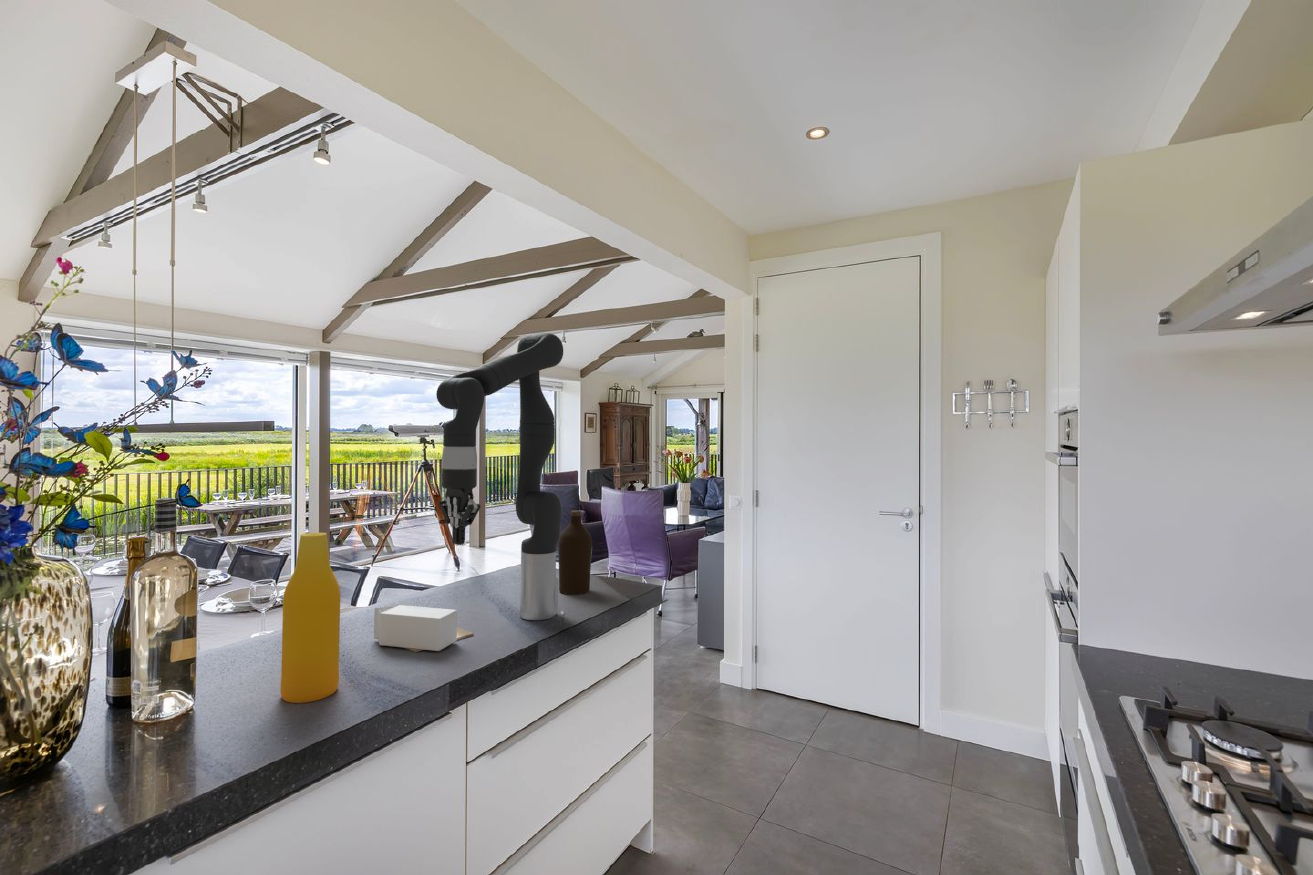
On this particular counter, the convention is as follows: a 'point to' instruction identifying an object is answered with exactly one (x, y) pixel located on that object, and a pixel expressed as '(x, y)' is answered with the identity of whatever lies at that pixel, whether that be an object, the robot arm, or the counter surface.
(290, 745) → the counter surface
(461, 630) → the cork mat
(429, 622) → the milk carton
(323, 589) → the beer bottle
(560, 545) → the olive oil
